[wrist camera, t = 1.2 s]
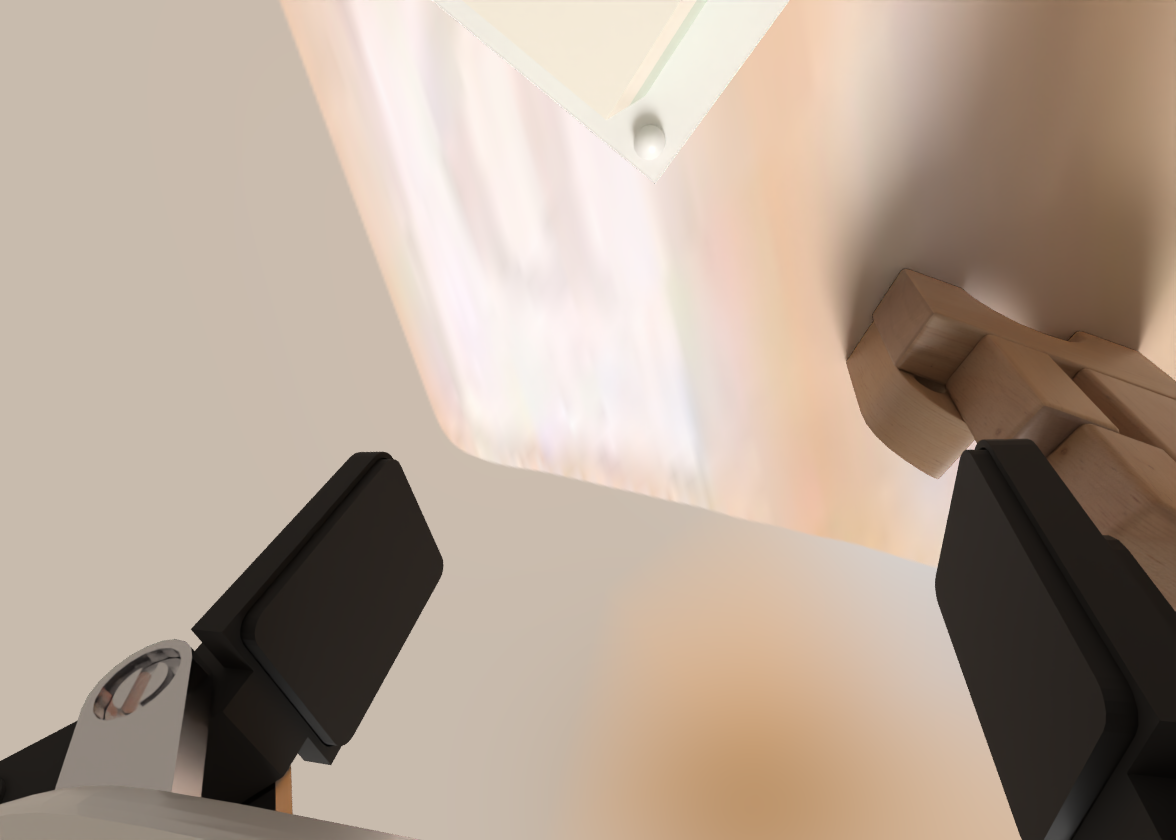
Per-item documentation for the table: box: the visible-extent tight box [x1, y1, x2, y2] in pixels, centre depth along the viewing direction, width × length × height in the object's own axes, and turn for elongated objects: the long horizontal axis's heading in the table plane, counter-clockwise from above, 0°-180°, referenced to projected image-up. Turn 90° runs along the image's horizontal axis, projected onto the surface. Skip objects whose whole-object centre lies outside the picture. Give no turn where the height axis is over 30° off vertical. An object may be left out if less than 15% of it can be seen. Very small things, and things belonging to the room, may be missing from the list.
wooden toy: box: [846, 269, 1176, 612], centre depth 23 cm, size 15×7×25 cm, turn 75°
